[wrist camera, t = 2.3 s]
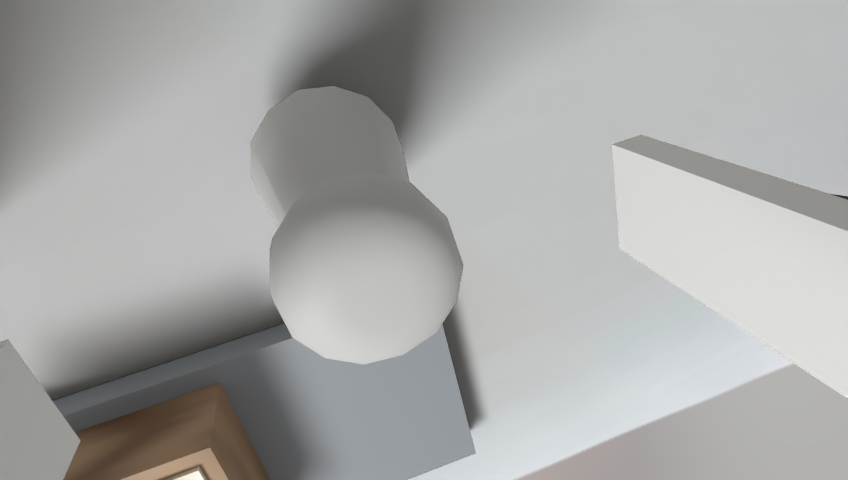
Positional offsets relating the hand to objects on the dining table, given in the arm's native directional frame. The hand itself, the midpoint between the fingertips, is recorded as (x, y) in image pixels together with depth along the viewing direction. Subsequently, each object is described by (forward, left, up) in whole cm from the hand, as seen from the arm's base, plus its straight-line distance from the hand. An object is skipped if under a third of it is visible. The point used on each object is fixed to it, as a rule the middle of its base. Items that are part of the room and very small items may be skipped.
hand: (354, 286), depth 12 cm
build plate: (+3, +15, -12) cm, 19 cm away
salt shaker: (0, 0, -12) cm, 12 cm away
